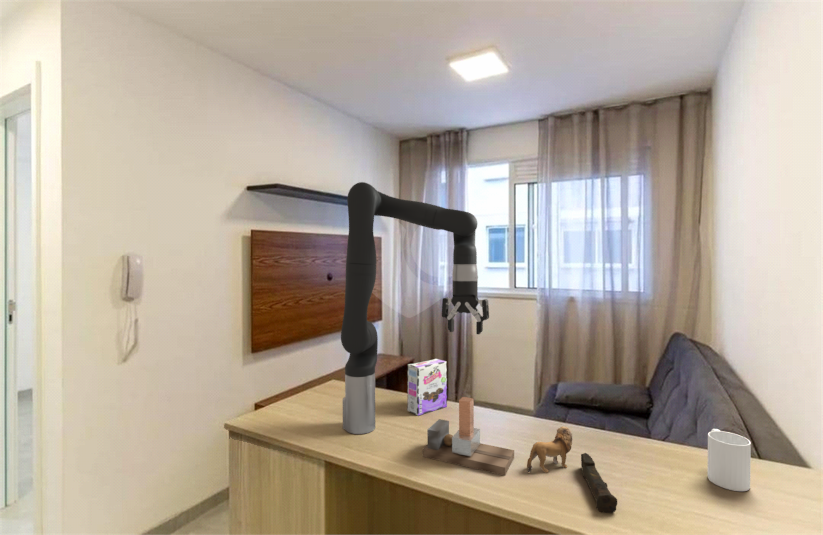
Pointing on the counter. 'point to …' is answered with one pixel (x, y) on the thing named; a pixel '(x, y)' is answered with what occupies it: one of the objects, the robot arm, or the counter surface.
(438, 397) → the candy box
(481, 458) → the press base
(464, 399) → the block
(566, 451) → the lion figurine
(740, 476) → the mug
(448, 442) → the hazelnut
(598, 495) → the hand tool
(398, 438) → the counter surface
